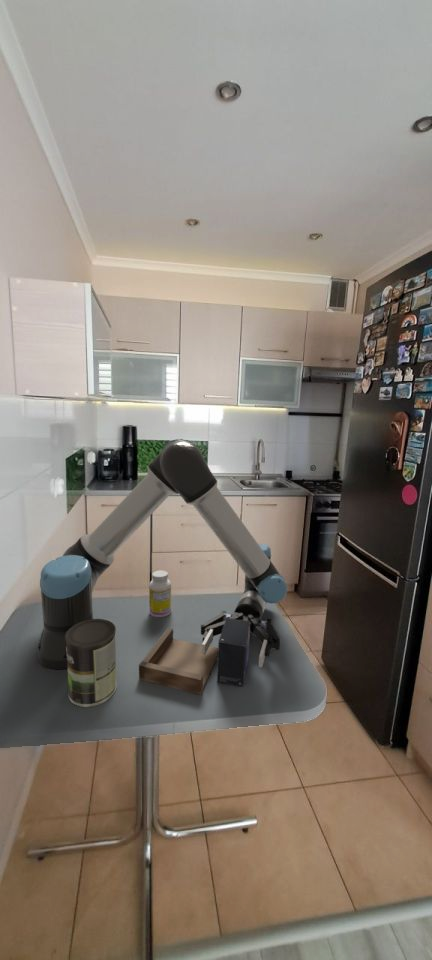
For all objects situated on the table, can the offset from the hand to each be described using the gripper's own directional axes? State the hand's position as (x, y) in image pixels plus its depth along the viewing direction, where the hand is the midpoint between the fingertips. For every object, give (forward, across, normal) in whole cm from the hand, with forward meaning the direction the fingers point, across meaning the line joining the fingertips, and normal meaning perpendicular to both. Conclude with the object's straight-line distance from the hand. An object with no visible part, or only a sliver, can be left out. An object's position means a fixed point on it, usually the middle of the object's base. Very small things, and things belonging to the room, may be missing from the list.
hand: (231, 655), depth 84 cm
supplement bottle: (-21, +28, -6) cm, 36 cm away
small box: (-3, 0, -6) cm, 7 cm away
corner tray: (-1, +12, -6) cm, 14 cm away
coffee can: (+13, +28, -6) cm, 31 cm away
